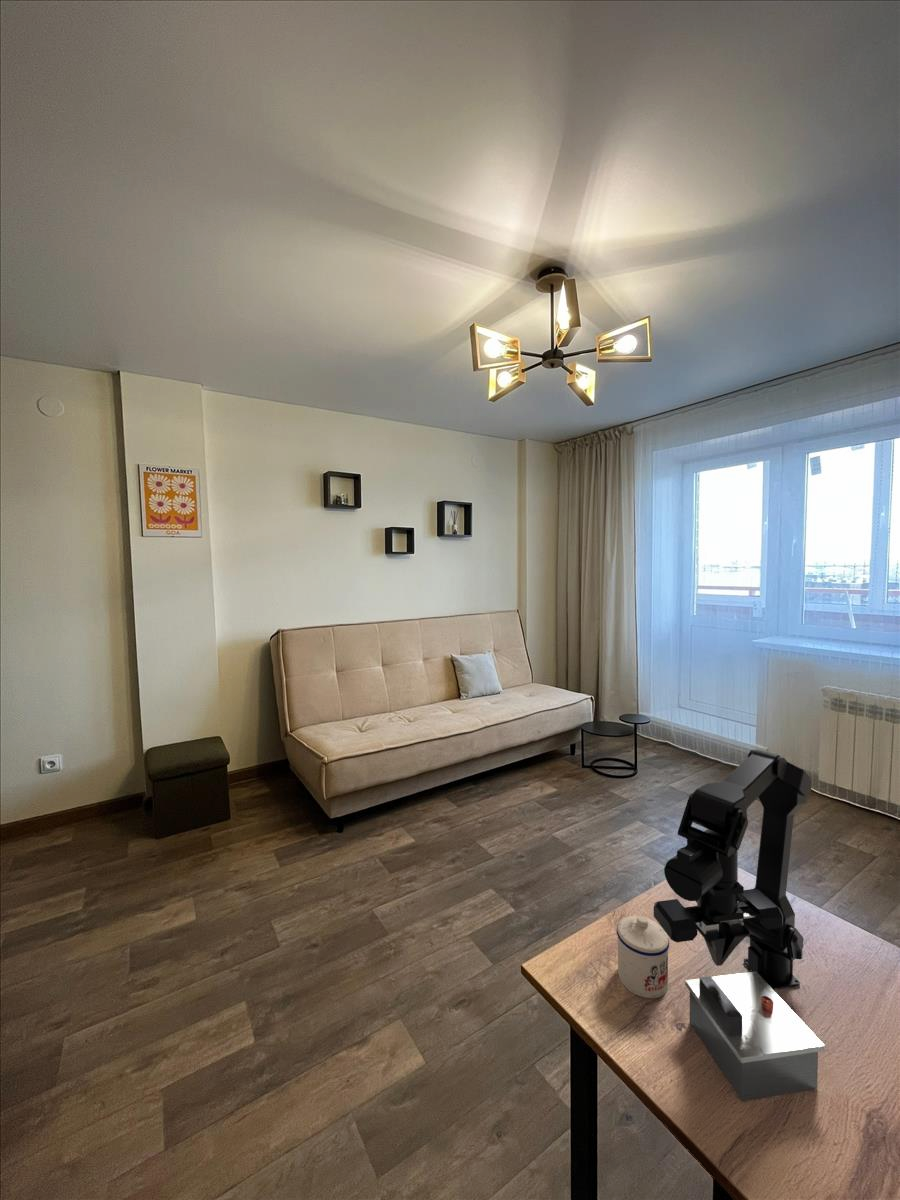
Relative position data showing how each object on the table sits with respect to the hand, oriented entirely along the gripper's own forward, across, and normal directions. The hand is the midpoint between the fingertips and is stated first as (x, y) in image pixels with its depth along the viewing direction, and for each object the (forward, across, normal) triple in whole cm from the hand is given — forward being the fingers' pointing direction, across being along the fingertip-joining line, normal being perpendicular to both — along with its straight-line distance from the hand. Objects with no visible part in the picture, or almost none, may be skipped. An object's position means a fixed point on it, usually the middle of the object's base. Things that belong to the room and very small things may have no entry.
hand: (717, 963), depth 77 cm
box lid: (+6, -3, +3) cm, 8 cm away
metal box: (+12, -3, +3) cm, 13 cm away
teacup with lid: (+13, +5, -13) cm, 19 cm away
